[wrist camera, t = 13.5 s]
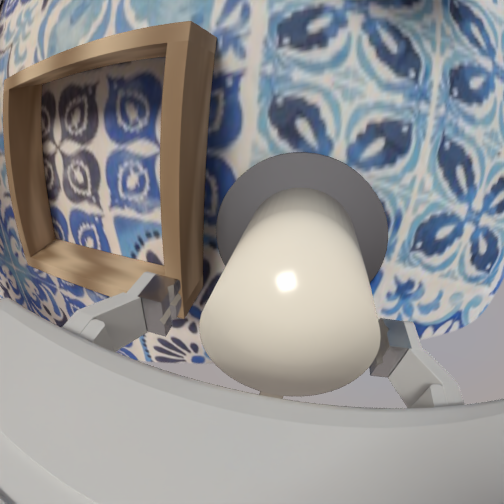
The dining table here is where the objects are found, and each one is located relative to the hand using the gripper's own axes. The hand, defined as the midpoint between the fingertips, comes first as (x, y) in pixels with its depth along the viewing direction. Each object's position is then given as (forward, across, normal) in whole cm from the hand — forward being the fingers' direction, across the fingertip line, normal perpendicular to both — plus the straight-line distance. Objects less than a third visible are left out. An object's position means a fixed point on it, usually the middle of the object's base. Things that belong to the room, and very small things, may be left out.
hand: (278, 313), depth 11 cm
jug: (+6, -1, +1) cm, 6 cm away
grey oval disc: (+6, -1, 0) cm, 7 cm away
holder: (+7, +13, -3) cm, 15 cm away
